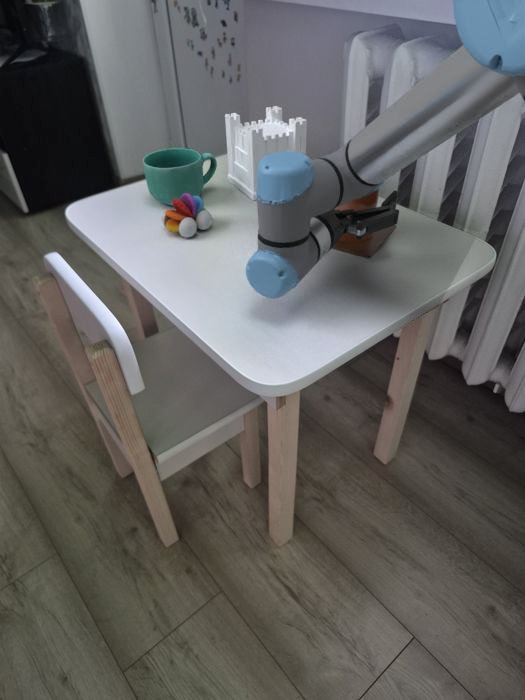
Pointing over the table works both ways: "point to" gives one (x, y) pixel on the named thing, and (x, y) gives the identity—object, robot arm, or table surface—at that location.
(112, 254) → the table surface
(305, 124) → the castle model
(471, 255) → the table surface
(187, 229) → the rainbow fan wheeled toy
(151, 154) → the mug
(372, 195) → the jar
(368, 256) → the coaster
